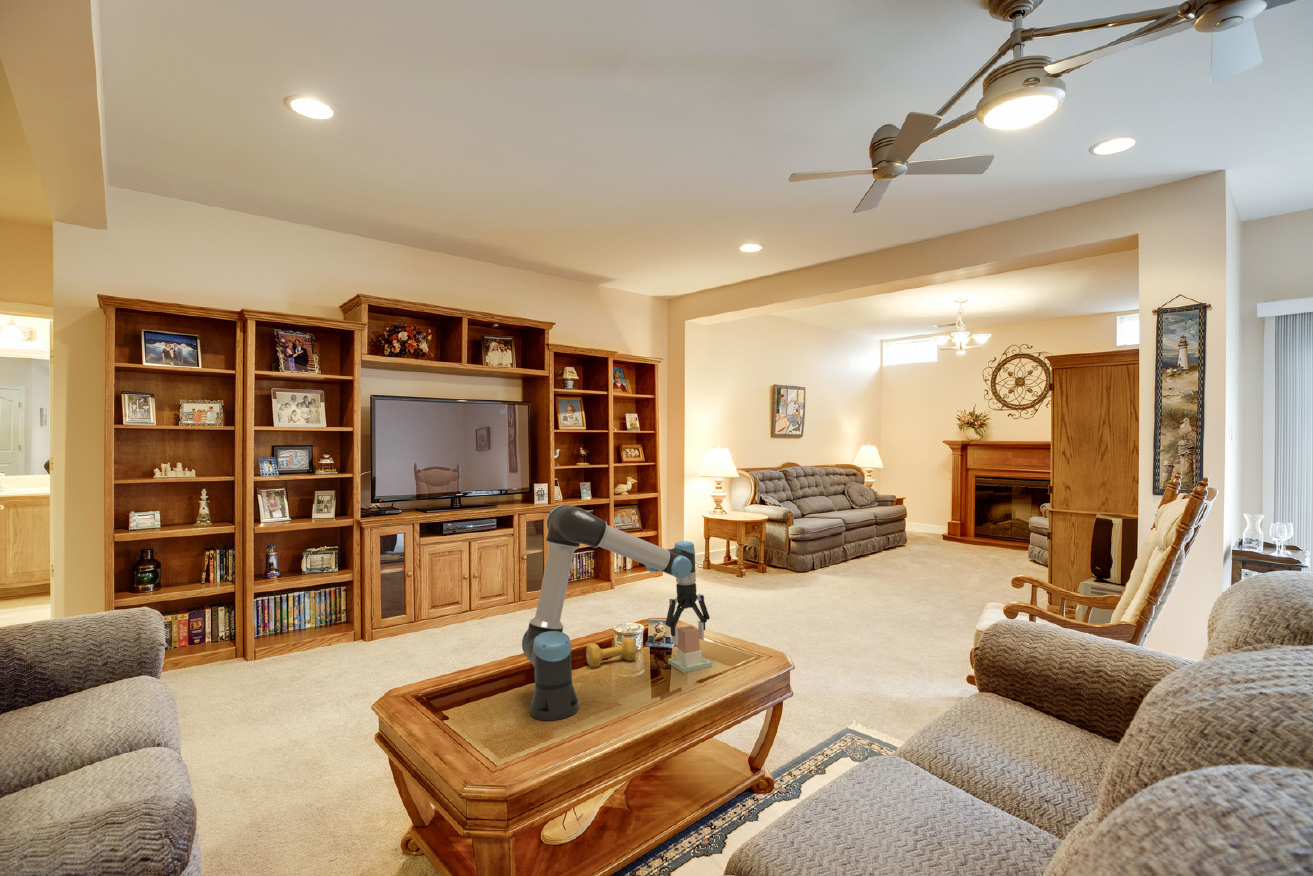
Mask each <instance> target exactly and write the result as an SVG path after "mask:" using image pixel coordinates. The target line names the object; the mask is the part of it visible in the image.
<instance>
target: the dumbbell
mask: <svg viewBox="0 0 1313 876" xmlns="http://www.w3.org/2000/svg"><path fill="white" fill-rule="evenodd" d="M585 653H586V654H585V657H586V663H587V664H588V666H589V668H598V667H599V666H600V665H601V662H602V660H603V659H607V658H613V657H618V656H622V658H623V659H624V660H626V661H627V662H632V661H635V659H636V655H637V647H636V643H635V640H634V639H633V638H632V637H629V636H628V637H624V638H622V640H621V643H620V645H619V646H612V647H611V646H610V647H607V648H600V646H599V645H598V644H597V643H595V642H592V643H588V644H587V645H586V652H585Z"/></svg>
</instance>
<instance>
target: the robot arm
mask: <svg viewBox="0 0 1313 876" xmlns="http://www.w3.org/2000/svg"><path fill="white" fill-rule="evenodd" d="M546 527H547V529H548V531H547V536H546V544H547V545H548V552H547V558H546V562H545V566H544V567H545V568H544V571H543V576H542V583H541V586H540V587H541V588H540V591H539V592H540V593H539V597H538V601H537V606H536V612H535V615H534V617H533V618H532V619H530V620H529V622H528V623H529V624H528V628H527V630H526V631H525V632H524V633H523V636H522V639H521V649H522V651H523V654H524V656H525V657H526V659H527V660H528V661H530V663H531V664H532V665H533V667H534V692H533V694H532V698H531V701H530V705H529V706H530V708H529V709H530V711H529V712H530V715H531V717H532V718H534V719H537V720H540V721H556V720H562V719H566V718H569V717H571V716H573V715H574V714H576V713H577V712H578V710H579V708H580V707H579V704H580V703H579V699H578V696H577V693H576V691H575V687H574V685H573V674H572V672H573V668H572V643H571V639H570V636H569V635H568V634H566V633H565V632H564V631H563V630H564V625H563V624H562V622H561V618H562V613H563V608H564V603H565V597H566V594H567V588H568V583H569V577H570V573H571V568H572V563H573V558H574V553H575V551H577V550H578V549H579V548H580V547H581V546H580V545H584V546H588V547H590V548H593V549H595V548H598V547H600V548H602V549H604V550H607V551H609V552H612V553H615V554H617V555H620V556H622V557H624V558H628V559H630V560H632V561H635V562H637V563H640V564H643V565H644V566H645V568H646V570H647V571H648V572H649V573H657V572H662V573H664V574H666V575H667V574H668V575H670V576H672V577H675V582H676V584H675V585H676V587H675V588H676V595H677V596H676V598H673V599H672V598H669V599H668V600H669V606H668V610H667V614H666V619H665V622H664V625H665V626H667V627H669V629H670V631H669V632H670V636H671V637H672V644H673V645H675V646H677V647H678V630H677V628H678V626H677V624H678V623H679V622H678V621H679V620H680V617H681V615H682V613H683V612H684V610H686V609H690V608H691V609H692V610H693V611H694V613H695V614H696V616H697V618H698V619H699V620H697V626H698V627H697V629H699V640H702V641H704V640H705V631H706V623H707V621H709V620H710V619H711V618H710V615H709V612H708V608H707V606H706V602H705V596H704V594H701V593H699V594H697V583H696V581H697V576H696V575H697V574H696V572H697V571H696V550H695V544H694V543H693V542H692V541H688V540H684V541H683V540H682V541H677V542H675V543H674V546H673V547H674V548H669V549H668V548H667V549H665V548H663V547H661V546H659V545H656V544H654V543H652V542H649V541H646V540H645V539H642V538H639V537H637V536H635V535H632V534H630V533H627V532H625V531H623V530H620V529H618V528H615V527H613V526H610V525H608V523H607V520H604V519H602V518H599V517H597V516H596V515H593V513H591V512H589V511H588V510H585V509H584V508H582V507H579V506H573V505H570V504H562V505H558V506H556V507H554V508H553V509H552V510H551V511H550V512H549V513H548V516H547V518H546ZM696 601H698V605H699V607H700V609H699V607H698V605H697V603H696ZM676 605H677V606H676Z"/></svg>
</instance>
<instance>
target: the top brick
mask: <svg viewBox="0 0 1313 876" xmlns="http://www.w3.org/2000/svg"><path fill="white" fill-rule="evenodd" d="M677 630H678V645H677V649H679V650H680V651H682V652H684V653H685V654H687V653H691V652H696V651H700V650H701V649H700V647H701V645H700V639H699V629H698V627H695V626H694V625H686V626H682V627H677Z"/></svg>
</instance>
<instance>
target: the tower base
mask: <svg viewBox="0 0 1313 876" xmlns="http://www.w3.org/2000/svg"><path fill="white" fill-rule="evenodd" d="M667 664H669V665H670V666H672V667H673V668H674V669H676V670H678V671H679V672H681V673H682V674H685V673H689V672H694V671H698V670H703V669H708V668H711V667H712V662H711V661H710V660H708V659H707V658H704V657H703V651H702V650H701V649H700V651H696V652H691V653H687V654H685V653H684V652H682V651H680V650H679V649H678V648H676V657H674V656H673V657H672V658H668V659H667Z"/></svg>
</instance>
